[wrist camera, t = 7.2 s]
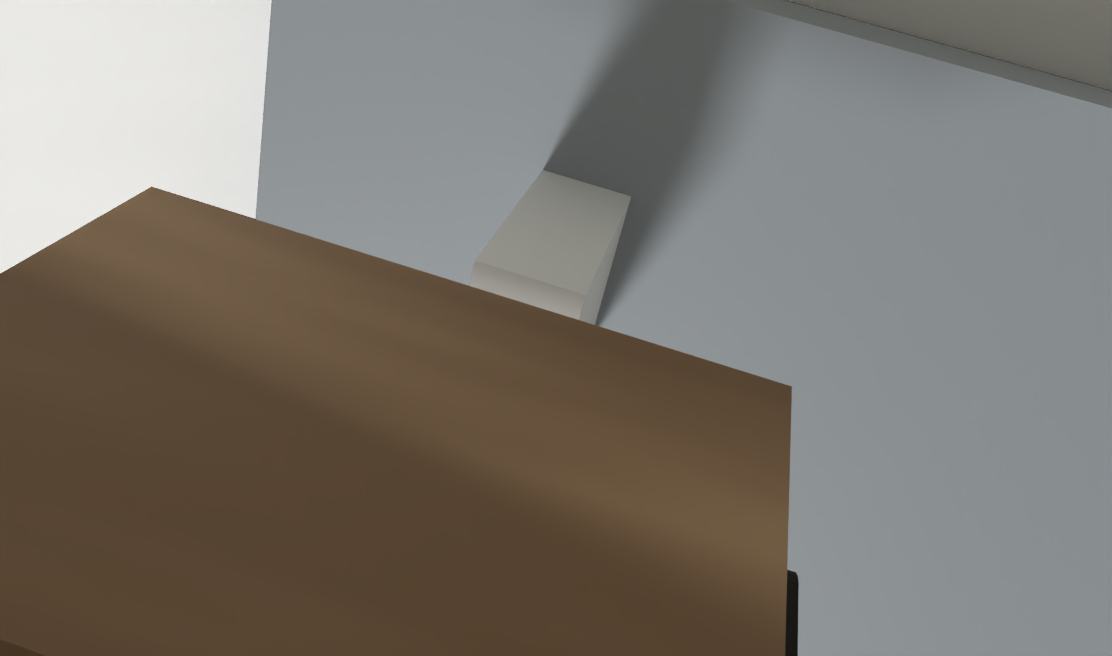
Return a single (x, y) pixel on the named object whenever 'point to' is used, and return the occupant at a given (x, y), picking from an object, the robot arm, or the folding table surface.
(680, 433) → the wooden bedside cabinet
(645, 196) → the shaft plate
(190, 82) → the folding table surface
